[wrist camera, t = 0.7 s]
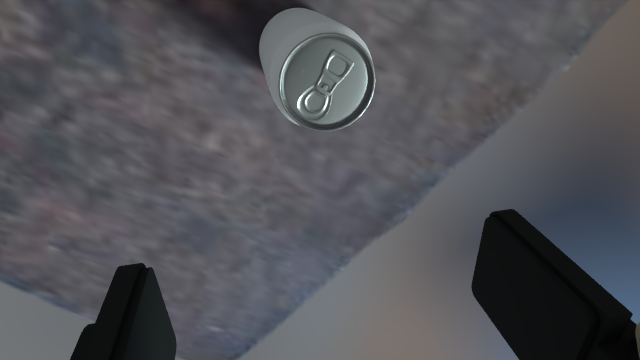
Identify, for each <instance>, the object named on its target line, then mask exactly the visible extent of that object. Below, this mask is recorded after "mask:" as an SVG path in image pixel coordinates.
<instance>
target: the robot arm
mask: <svg viewBox="0 0 640 360" xmlns="http://www.w3.org/2000/svg"><path fill="white" fill-rule="evenodd" d="M472 292H473V295H474V297H475V298H476V300H477V301H478V302H479V304H480V305H481V306H482V308H483V309H484V311H485V312H486V314H487V315H488V316H489V318H490V319H491V321H492V322H493V323H494V325H495V326H496V328H497V329H498V330H499V332H500V333H501V335H502V336H503V338H504V339H505V340H506V342H507V343H508V345H509V346H510V347H511V349H512V350H513V352H514V353H515V354H516V356H517V357H518V359H519V360H640V322H639V323H638V324H637V325H636V324H635V323H634V322H633V321H632V320H631V319H630V318H631V316H632V315H633V314H632V313H631V312H630V311H629V310H628V309H627V308H625V307H624V306H623V305H622V304H621V303H620V302H619V301H618V300H616V299H615V298H614V297H613V296H612V295H611V294H610V293H608V292H607V291H606V290H605V289H604V288H603V287H602V286H601V285H599V284H598V283H597V282H596V281H595V280H594V279H593V278H591V277H590V276H589V275H588V274H587V273H586V272H585V271H584V270H582V269H581V268H580V267H579V266H578V265H577V264H576V263H574V262H573V261H572V260H571V259H570V258H568V256H566V255H565V254H564V253H563V252H562V251H561V250H560V249H559V248H557V247H556V246H555V245H554V244H553V243H552V242H551V241H550V240H548V239H547V238H546V237H545V236H544V235H543V234H542V233H540V232H539V231H538V230H537V229H536V228H535V227H534V226H532V225H531V224H530V223H529V222H528V221H527V220H526V219H525V218H523V217H522V216H521V215H520V214H519V213H518V212H517V211H515V210H513V209H508V210H501V211H495V212H492V213H491V214H490V216H489V217H488V218H486V220H485V223H484V228H483V232H482V237H481V242H480V247H479V252H478V256H477V261H476V266H475V271H474V275H473V281H472ZM175 354H176V337H175V334H174V331H173V328H172V325H171V322H170V318H169V315H168V312H167V309H166V306H165V303H164V300H163V297H162V294H161V291H160V288H159V285H158V282H157V279H156V276H155V273H154V270H153V268H151V267H150V268H146V267H145V265H144V264H143V263H138V264H131V265H124V266H119V267H118V268H117V270H116V272H115V275H114V277H113V280H112V282H111V285H110V287H109V290H108V292H107V295H106V297H105V300H104V302H103V305H102V307H101V310H100V312H99V315H98V317H97V320H96V322H95V323H94V324H88V325H87V326H86V327H85V328H84V329H83V331H82V333H81V335H80V337H79V340H78V342H77V344H76V347H75V349H74V352H73V354H72V356H71V359H70V360H175Z"/></svg>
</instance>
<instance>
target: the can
mask: <svg viewBox="0 0 640 360" xmlns="http://www.w3.org/2000/svg"><path fill="white" fill-rule="evenodd" d="M259 55H260V60H261V64H262V68H263V71H264V74H265V77H266V81H267V84H268V87H269V90H270V93H271V95H272V98H273V100H274V102H275V104H276V105H277V107H278V108H279V110H280V111H281V112H282V113H283V114H284V115H285V116H286V117H287V118H288V119H289V120H291V121H292V122H294V123H296V124H298V125H300V126H302V127H304V128H306V129H309V130H312V131H317V132H332V131H336V130H340V129H342V128H345V127H347V126H349V125H350V124H352V123H353V122H355V121H356V120H357V119H358V118H359V117H360V116H361V115H362V114H363V113H364V112H365V110H366V109H367V107H368V106H369V104H370V102H371V100H372V97H373V94H374V90H375V81H376V78H375V70H374V66H373V62H372V58H371V55H370V52H369V50H368V48H367V46H366V45H365V43H364V42H363V40H362V39H361V38H360V37H359V36H358V35H357V34H356V33H355V32H354V31H352V30H351V29H349V28H348V27H346V26H344V25H342V24H341V23H339V22H336V21H334V20H332V19H330V18H328V17H326V16H324V15H322V14H319V13H317V12H315V11H312V10H309V9H306V8H291V9H287V10H284V11H282V12H280V13H278V14H277V15H275V16H274V17H273V18H272V19H271V20H270V21H269V22H268V23H267V25H266V26H265V28H264V30H263V32H262V34H261V38H260V43H259Z"/></svg>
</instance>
